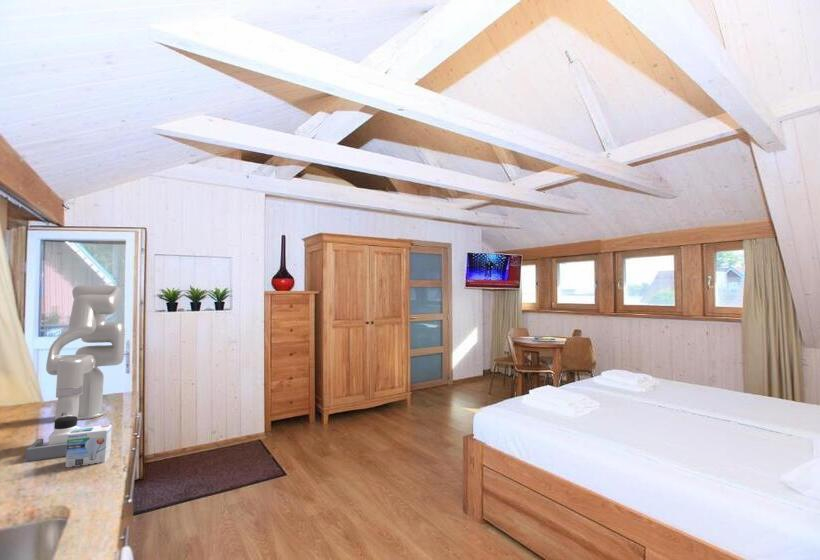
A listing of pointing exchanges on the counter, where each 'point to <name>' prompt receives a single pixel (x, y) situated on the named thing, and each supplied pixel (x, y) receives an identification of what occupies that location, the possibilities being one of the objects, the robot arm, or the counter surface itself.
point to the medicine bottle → (62, 429)
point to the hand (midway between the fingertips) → (66, 440)
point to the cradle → (45, 451)
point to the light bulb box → (88, 445)
